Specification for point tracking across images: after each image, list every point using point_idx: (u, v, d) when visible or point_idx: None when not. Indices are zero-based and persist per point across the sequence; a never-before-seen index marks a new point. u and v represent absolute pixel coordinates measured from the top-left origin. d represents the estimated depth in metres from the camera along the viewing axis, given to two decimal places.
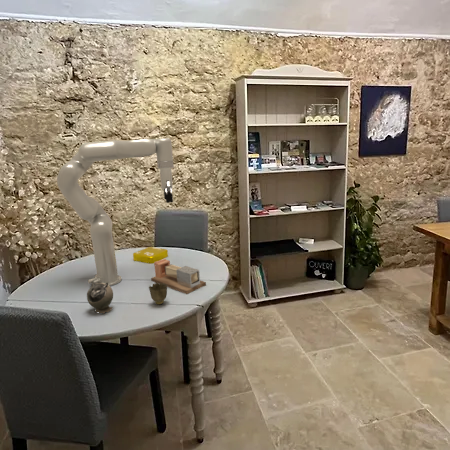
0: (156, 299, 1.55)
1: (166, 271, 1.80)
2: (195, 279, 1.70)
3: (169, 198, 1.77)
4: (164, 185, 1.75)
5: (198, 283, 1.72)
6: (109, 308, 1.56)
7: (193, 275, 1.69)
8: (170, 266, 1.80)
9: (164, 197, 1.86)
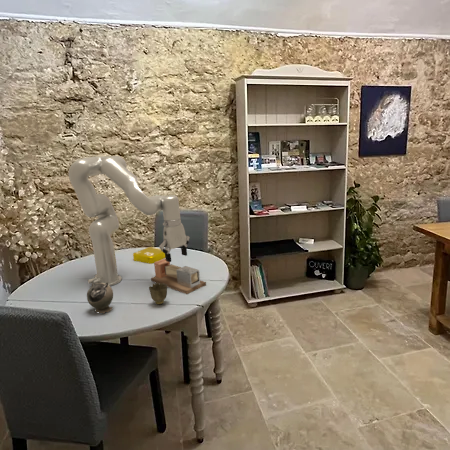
0: (156, 299, 1.55)
1: (166, 271, 1.80)
2: (195, 279, 1.70)
3: None
4: None
5: (198, 283, 1.72)
6: (109, 308, 1.56)
7: (193, 275, 1.69)
8: (170, 266, 1.80)
9: None
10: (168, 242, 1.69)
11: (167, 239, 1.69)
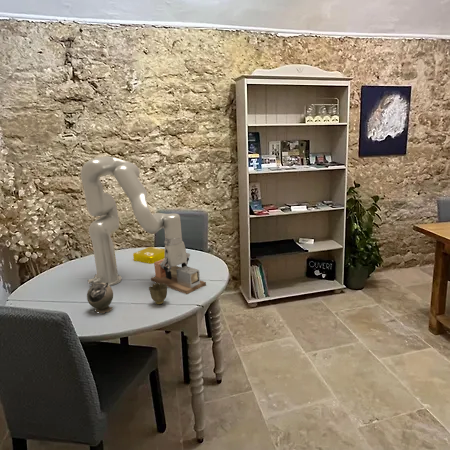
0: (156, 299, 1.55)
1: None
2: (195, 279, 1.70)
3: None
4: None
5: (198, 283, 1.72)
6: (109, 308, 1.56)
7: (193, 275, 1.69)
8: None
9: (171, 277, 1.74)
10: (169, 260, 1.71)
11: (168, 257, 1.71)
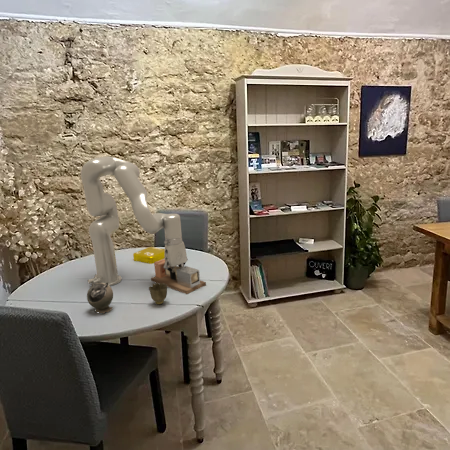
0: (156, 299, 1.55)
1: (166, 271, 1.80)
2: (195, 279, 1.70)
3: None
4: None
5: (198, 283, 1.72)
6: (109, 308, 1.56)
7: (193, 275, 1.69)
8: None
9: (175, 278, 1.76)
10: (169, 260, 1.71)
11: (168, 257, 1.71)
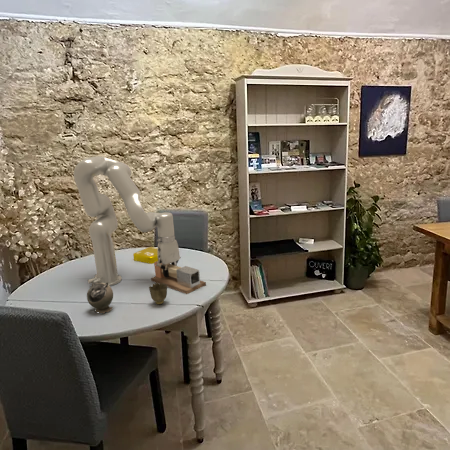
0: (156, 299, 1.55)
1: None
2: None
3: None
4: None
5: (198, 283, 1.72)
6: (109, 308, 1.56)
7: None
8: None
9: (168, 275, 1.79)
10: (162, 258, 1.74)
11: (161, 255, 1.74)
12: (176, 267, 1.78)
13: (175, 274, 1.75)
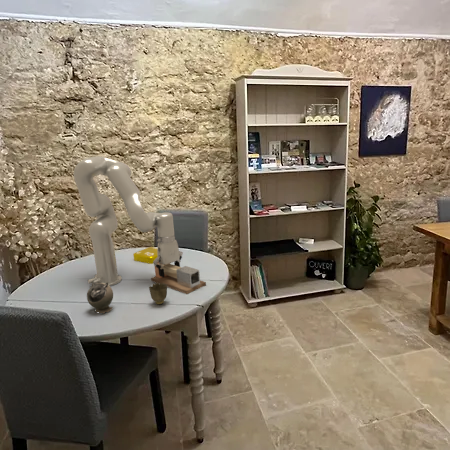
0: (156, 299, 1.55)
1: None
2: None
3: None
4: None
5: (198, 283, 1.72)
6: (109, 308, 1.56)
7: None
8: None
9: None
10: (162, 258, 1.74)
11: (161, 255, 1.74)
12: (176, 267, 1.78)
13: (175, 274, 1.75)
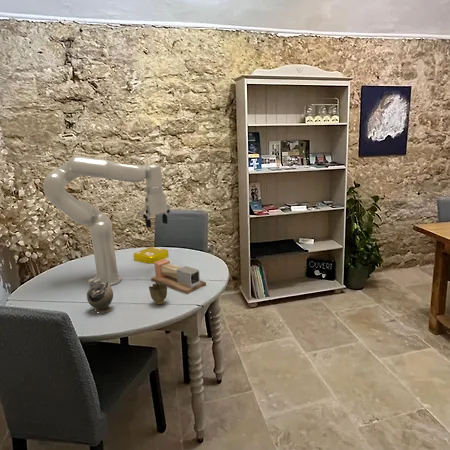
0: (156, 299, 1.55)
1: None
2: None
3: None
4: None
5: (198, 283, 1.72)
6: (109, 308, 1.56)
7: None
8: (163, 264, 1.83)
9: (150, 225, 1.81)
10: (149, 208, 1.78)
11: (148, 205, 1.79)
12: (176, 267, 1.78)
13: (175, 274, 1.75)
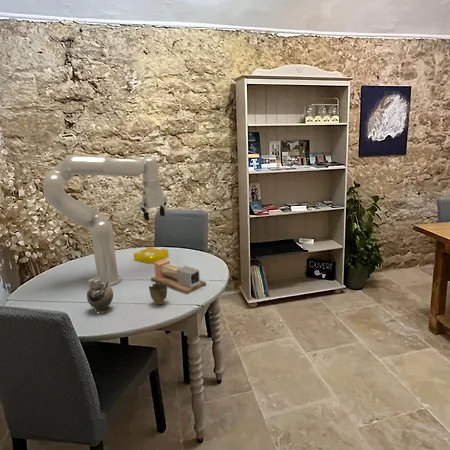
0: (156, 299, 1.55)
1: None
2: None
3: None
4: None
5: (198, 283, 1.72)
6: (109, 308, 1.56)
7: None
8: (163, 264, 1.83)
9: (148, 218, 1.84)
10: (146, 201, 1.81)
11: (145, 198, 1.81)
12: (176, 267, 1.78)
13: (175, 274, 1.75)
